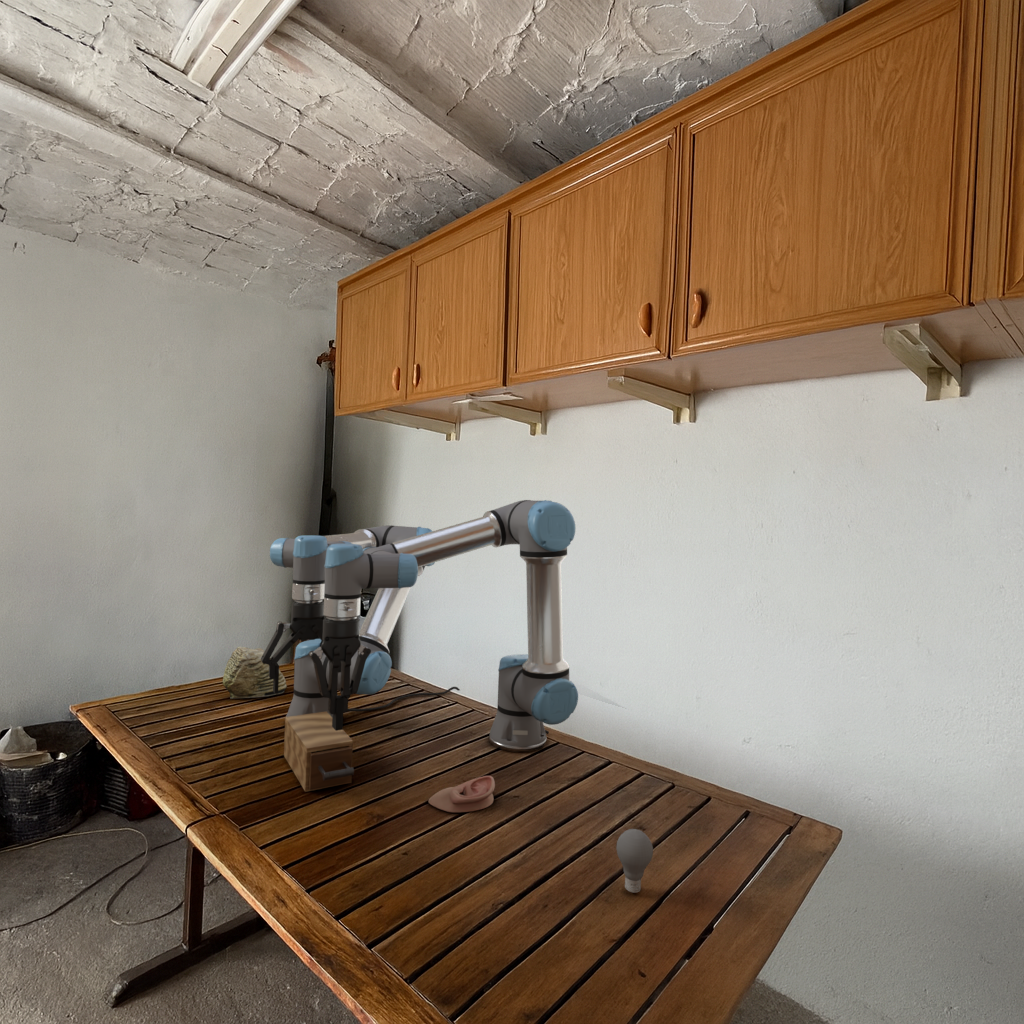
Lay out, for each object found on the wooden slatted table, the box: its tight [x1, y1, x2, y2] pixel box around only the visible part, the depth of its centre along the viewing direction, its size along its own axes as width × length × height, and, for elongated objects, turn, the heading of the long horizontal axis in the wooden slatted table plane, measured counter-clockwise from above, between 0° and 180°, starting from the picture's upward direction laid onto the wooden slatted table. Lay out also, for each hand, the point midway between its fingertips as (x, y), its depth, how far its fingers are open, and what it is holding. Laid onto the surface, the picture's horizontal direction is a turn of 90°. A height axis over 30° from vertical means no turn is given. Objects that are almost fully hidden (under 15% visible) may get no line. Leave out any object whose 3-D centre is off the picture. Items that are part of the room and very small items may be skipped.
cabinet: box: [283, 711, 354, 793], centre depth 147 cm, size 21×10×9 cm, turn 32°
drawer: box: [309, 746, 355, 791], centre depth 143 cm, size 26×9×8 cm, turn 32°
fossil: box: [222, 646, 288, 699], centre depth 198 cm, size 9×18×15 cm, turn 132°
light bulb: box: [615, 828, 654, 894], centre depth 106 cm, size 6×6×10 cm
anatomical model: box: [427, 775, 496, 813], centre depth 134 cm, size 13×4×12 cm
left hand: (305, 689), depth 151 cm, fingers open, 13 cm apart
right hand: (337, 727), depth 134 cm, fingers closed
